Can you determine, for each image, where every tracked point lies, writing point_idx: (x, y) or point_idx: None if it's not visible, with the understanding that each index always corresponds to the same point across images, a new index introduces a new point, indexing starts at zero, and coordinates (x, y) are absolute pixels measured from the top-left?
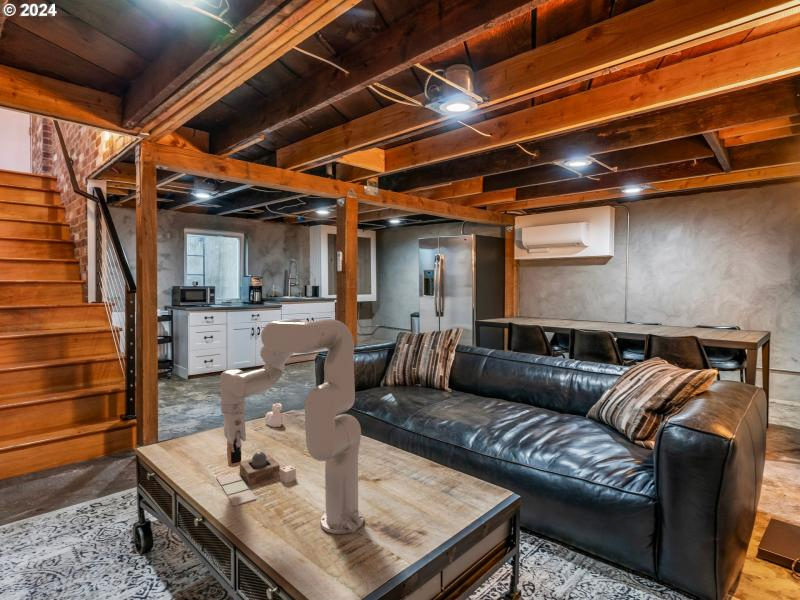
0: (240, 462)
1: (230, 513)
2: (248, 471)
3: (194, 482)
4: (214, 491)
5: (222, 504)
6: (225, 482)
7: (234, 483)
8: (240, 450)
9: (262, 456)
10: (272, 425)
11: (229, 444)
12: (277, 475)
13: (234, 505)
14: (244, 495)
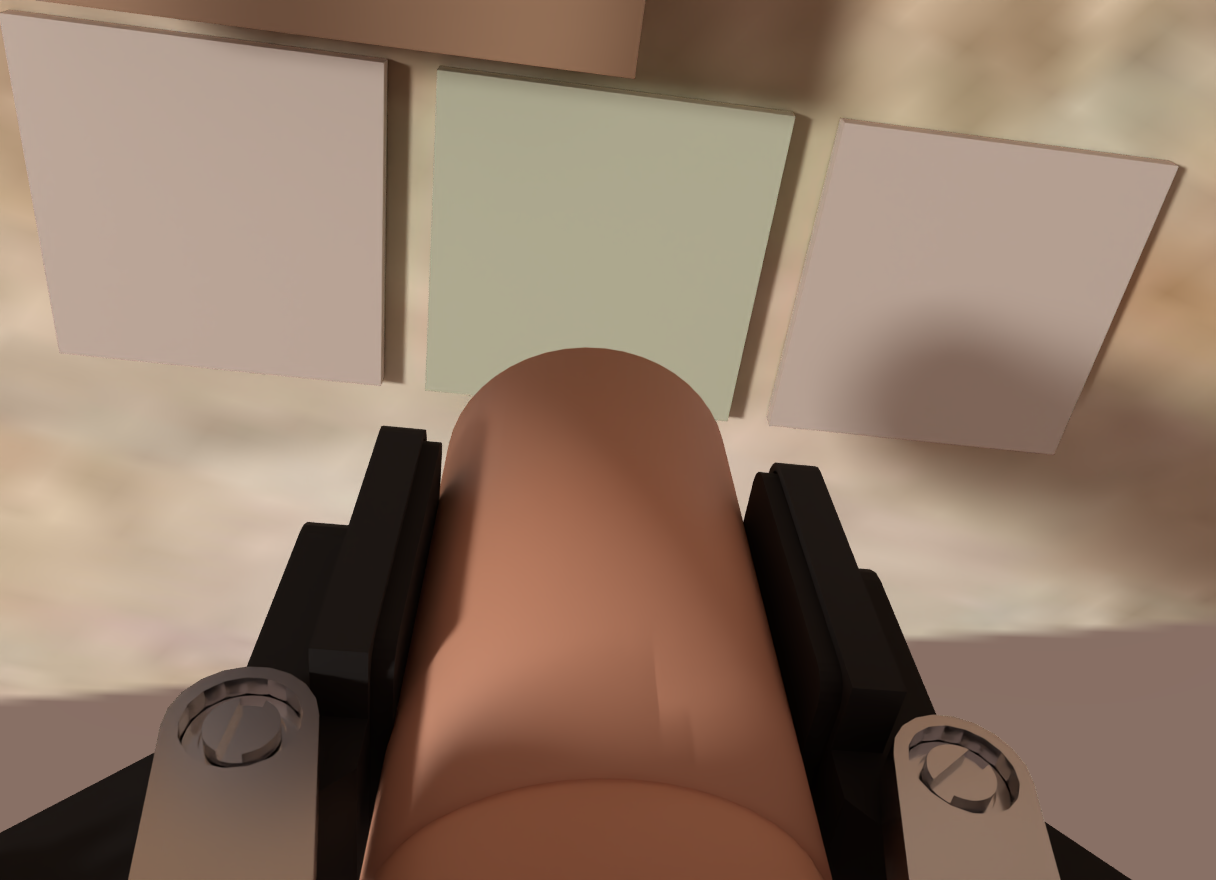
0: (662, 383)
1: (1147, 522)
2: (542, 40)
3: (56, 579)
4: None
5: (883, 519)
6: (332, 314)
7: (455, 224)
8: (988, 750)
9: None
10: None
11: None
12: None
13: (1053, 446)
14: (945, 263)
